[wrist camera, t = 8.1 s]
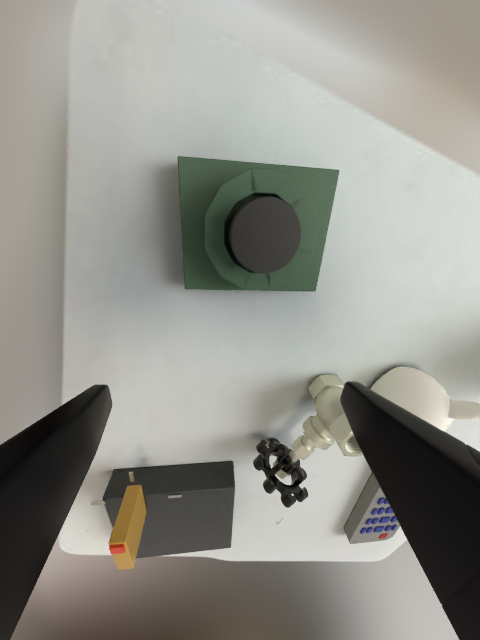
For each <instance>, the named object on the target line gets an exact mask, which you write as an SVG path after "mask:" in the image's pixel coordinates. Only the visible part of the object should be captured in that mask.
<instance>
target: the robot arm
mask: <svg viewBox="0 0 480 640" xmlns="http://www.w3.org/2000/svg"><path fill="white" fill-rule="evenodd" d="M340 402H341V405H342V408H343V410H344V413H345V415H346V417H347V420H348V422H349V425H350V427H351V430H352V432H353V435H354V437H355V439H356V441H357V443H358V445H359V447H360V449H361V451H362V453H363V455H364V457H365V459H366V461H367V463H368V465H369V466H370V468H371V470H372V472H373V474H374V476H375V478H376V480H377V482H378V484H379V486H380V488H381V490H382V491H383V493H384V495H385V497H386V499H387V501H388V503H389V505H390V507H391V509H392V511H393V513H394V515H395V516H396V518H397V520H398V522H399V524H400V526H401V528H402V530H403V532H404V534H405V536H406V538H407V539H408V541H409V543H410V545H411V547H412V549H413V551H414V553H415V555H416V557H417V558H418V561H419V563H420V564H421V566H422V568H423V570H424V572H425V574H426V576H427V578H428V580H429V582H430V583H431V586H432V588H433V589H434V591H435V593H436V595H437V597H438V599H439V601H440V603H441V604H442V607H443V609H444V611H445V613H446V615H447V617H448V619H449V620H450V622H451V624H452V626H453V628H454V630H455V632H456V634H457V636H458V638H459V640H480V452H479V451H477V450H476V449H474V448H472V447H470V446H469V445H465V444H464V443H463V442H461V441H460V440H458V439H456V438H454V437H453V436H451V435H449V434H447V433H446V432H444V431H442V430H440V429H439V428H437V427H435V426H433V425H432V424H430V423H428V422H426V421H425V420H423V419H421V418H419V417H418V416H416V415H414V414H412V413H411V412H409V411H407V410H405V409H404V408H402V407H400V406H398V405H397V404H395V403H393V402H391V401H390V400H388V399H386V398H384V397H383V396H381V395H379V394H377V393H376V392H374V391H372V390H370V389H369V388H367V387H365V386H363V385H362V384H360V383H358V382H346V383H345V385H344V387H343V390H342V393H341V396H340ZM111 408H112V400H111V395H110V390H109V387H108V385H94V386H92V387H90V388H89V389H87V390H85V391H84V392H82V393H81V394H79V395H78V396H76V397H75V398H73V399H71V400H70V401H68V402H67V403H65V404H64V405H62V406H60V407H59V408H58V409H56V410H54V411H53V412H51V413H50V414H48V415H47V416H45V417H43V418H42V419H40V420H39V421H37V422H36V423H34V424H32V425H31V426H30V427H28V428H26V429H25V430H23V431H22V432H20V433H18V434H17V435H15V436H14V437H12V438H11V439H9V440H7V441H6V442H4V443H3V444H1V445H0V640H10V638H11V636H12V634H13V632H14V630H15V627H16V625H17V623H18V621H19V619H20V617H21V614H22V612H23V610H24V608H25V606H26V604H27V601H28V599H29V597H30V595H31V593H32V591H33V589H34V586H35V584H36V582H37V580H38V578H39V575H40V573H41V571H42V569H43V567H44V564H45V563H46V560H47V558H48V556H49V554H50V552H51V550H52V547H53V545H54V543H55V541H56V539H57V537H58V535H59V532H60V530H61V528H62V526H63V524H64V522H65V519H66V517H67V515H68V513H69V511H70V509H71V506H72V504H73V502H74V500H75V498H76V496H77V493H78V491H79V489H80V487H81V485H82V483H83V480H84V478H85V476H86V474H87V472H88V470H89V467H90V465H91V463H92V461H93V459H94V456H95V454H96V452H97V449H98V446H99V443H100V441H101V438H102V435H103V432H104V429H105V426H106V423H107V420H108V417H109V414H110V411H111Z"/></svg>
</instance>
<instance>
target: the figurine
mask: <svg viewBox="0 0 480 640" xmlns="http://www.w3.org/2000/svg"><path fill="white" fill-rule="evenodd" d="M370 390H372V391H374V392H376V393H377V394H379V395H381V396H383V397H384V398H386V399H388V400H390V401H391V402H393V403H395V404H397V405H398V406H400V407H402V408H404V409H405V410H407V411H409V412H411V413H412V414H414V415H416V416H418V417H419V418H421V419H423V420H425V421H426V422H428V423H430V424H432V425H433V426H435V427H437V428H439V429H440V430H442V431H445V430H446V429H447V428H448V426H451V425H452V424H453V422H454V420H453V419H476V418H480V404H478V403H475V402H470V401H451V400H450V397H449V395H448V394H447V392H446V391H445V389H444V388H443V387H442V386H441V385H440V384H439V383H438V382H437V381H436V380H435V379H434V378H433V377H431V376H430V375H428V374H426V373H425V372H422V371H420V370H418V369H414V368H410V367H396V368H393V369H392V370H390V371H388V372H387V373H385V374H384V375H383V376H382V377H380V378H379V379H378V380H377V381H376V382H375V383H374V385H373V386H372V387H371V389H370Z"/></svg>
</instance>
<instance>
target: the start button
mask: <svg viewBox="0 0 480 640" xmlns="http://www.w3.org/2000/svg"><path fill="white" fill-rule="evenodd" d="M300 241H301V225H300V221H299V218H298V216H297V214H296V212H295V210H294V209H293V208H292V207H291V206H290V205H289V204H288V203H287V202H285V201H283V200H281V199H279V198H276V197H270V196H268V197H260V198H256V199H254V200H252V201H250V202H248V203H246V204H244V205H243V206H242V207H241V208H239V210H238V211H237V212H236V213H235V215H234V216H233V218H232V221H231V223H230V227H229V243H230V246H231V249H232V251H233V253H234V255H235V257H236V258H237V260H238V261H239V262H240V263H241V264H242V265H243V266H244V267H245V268H247V269H249V270H251V271H253V272H257V273H271V272H275V271H277V270H279V269H281V268H283V267H284V266H286V265H287V264H288V263H289V262H290V261H291V260H292V258H293V257H294V256H295V254H296V252H297V250H298V248H299V245H300Z"/></svg>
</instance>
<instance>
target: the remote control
mask: <svg viewBox="0 0 480 640" xmlns="http://www.w3.org/2000/svg"><path fill="white" fill-rule="evenodd" d="M399 527H400V524H399V522H398V520H397V518H396V516H395V515H394V513H393V511H392V509H391V507H390V505H389V503H388V501H387V499H386V497H385V495H384V493H383V491H382V490H381V488H380V486H379V484H378V482H377V480H376V478H375V476H374V474H373V473H372V475H371V477H370V479H369V480H368V482H367V484H366V486H365V488H364V490H363V492H362V494H361V496H360V498H359V500H358V502H357V504H356V506H355V508H354V510H353V511H352V513H351V515H350V517H349V519H348V521H347V523H346V525H345V527H344V530H345V533H346V535H347V538H348V540H349V543H350V544H355V543H364V542H373V541H382V540H387V539H389V538H391V537H393V535H394V534H395V533H396V531H397V530H398V528H399Z"/></svg>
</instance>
